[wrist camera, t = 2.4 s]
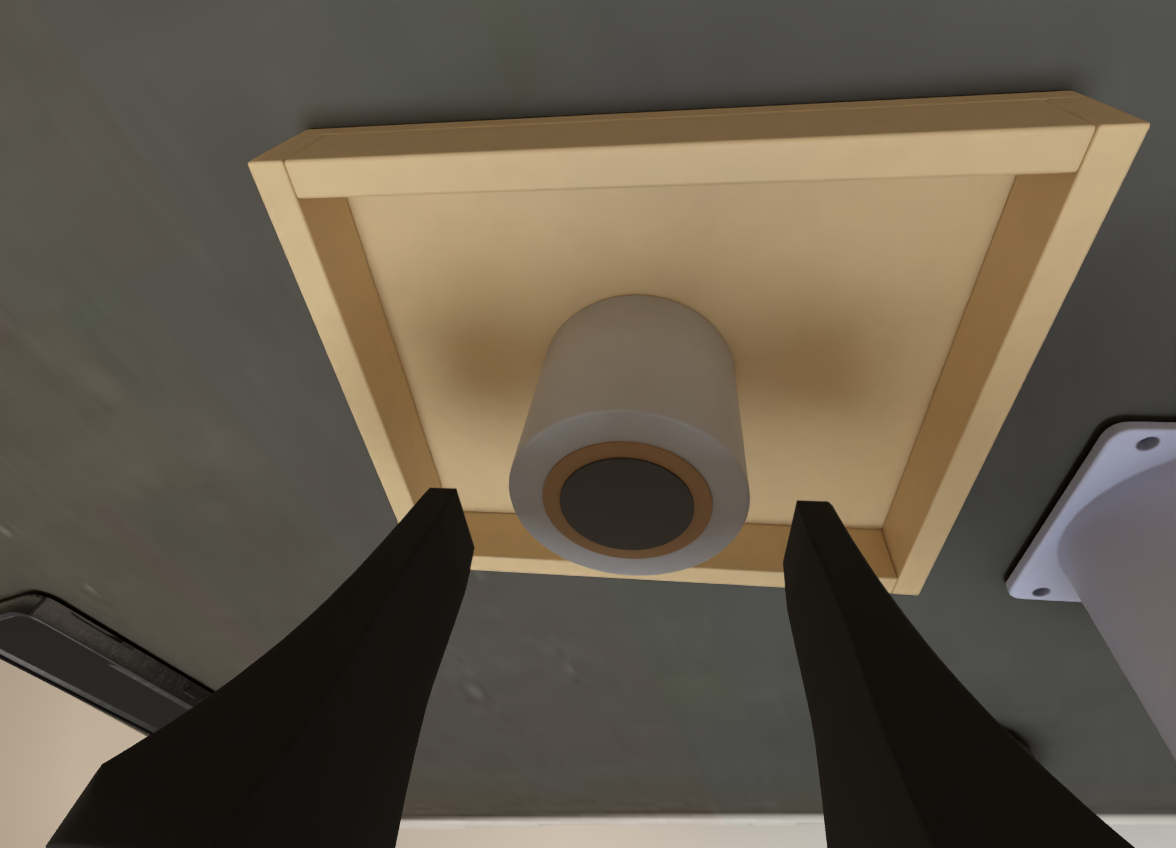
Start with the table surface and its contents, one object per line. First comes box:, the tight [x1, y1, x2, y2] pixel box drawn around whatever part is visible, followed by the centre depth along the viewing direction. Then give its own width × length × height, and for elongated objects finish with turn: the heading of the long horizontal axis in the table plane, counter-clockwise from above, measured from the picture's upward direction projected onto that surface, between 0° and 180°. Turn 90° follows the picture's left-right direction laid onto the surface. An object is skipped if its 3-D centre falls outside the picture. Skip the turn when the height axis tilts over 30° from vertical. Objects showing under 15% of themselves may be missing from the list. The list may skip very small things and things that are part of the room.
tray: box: [248, 91, 1150, 595], centre depth 16 cm, size 17×14×3 cm
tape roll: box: [509, 295, 750, 576], centre depth 15 cm, size 5×5×5 cm
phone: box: [0, 594, 212, 735], centre depth 35 cm, size 8×1×15 cm
